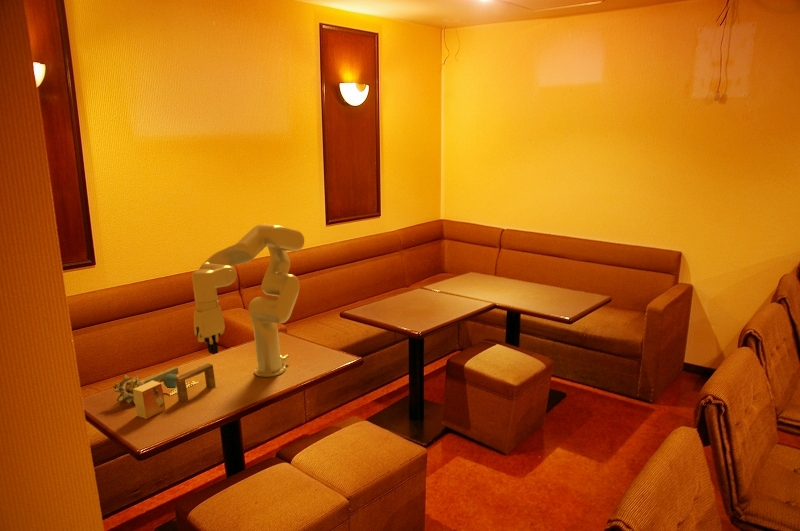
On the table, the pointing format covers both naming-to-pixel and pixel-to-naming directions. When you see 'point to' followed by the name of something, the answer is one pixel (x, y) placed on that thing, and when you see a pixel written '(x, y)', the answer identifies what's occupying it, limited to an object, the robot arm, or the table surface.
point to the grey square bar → (162, 375)
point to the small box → (149, 399)
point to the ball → (169, 380)
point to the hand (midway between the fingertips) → (213, 352)
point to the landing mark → (186, 387)
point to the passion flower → (128, 388)
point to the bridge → (181, 379)
